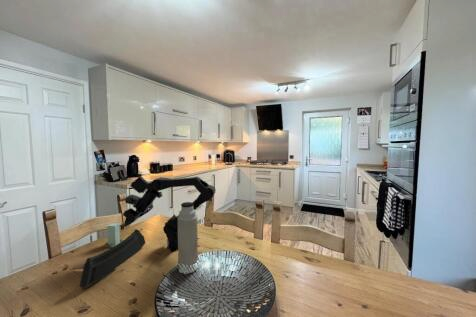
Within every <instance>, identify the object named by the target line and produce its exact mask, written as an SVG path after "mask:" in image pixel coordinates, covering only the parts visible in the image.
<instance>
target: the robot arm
mask: <svg viewBox="0 0 476 317" xmlns="http://www.w3.org/2000/svg"><path fill="white" fill-rule="evenodd" d="M129 185H130V186H129V187H130V188H132V189H133V190H134V191H136V192H137V193H138V194H142V196H141V197H140V196H139V195H135V194H130V195H127V196H126V197H125V199H124V203H126V204H127V205H132V207H133V208H128V209H126V210H124V212H122V216H123V217H125V219H124V223H123V227H124V228H127V227H129V226H130V225H132V224H133V223H135V222H136V221H138V219H140V218H141V217H143V216H144V215H146V214H148V213H149V212H150V211H151V210H152V209H154V201H155V200H156V198H157V199H161V198H162V197H163V194H162V193H163V192H162V191H163V190H166V189H170V188H178V187H188V186H189V187H190V186H193V187H194V188H195V189H196V191H198V193H199V195H198V196H197V197H196V198H195V199H194V200H193V201H192V203H193V207H194V210H195V211H196V210H197V209H198V208H200V206H201V205H203V204H204V203H206V202H208V201H210V200H211V199H212V198H213V197H214V196H215V194H216V191H217V190H216V187H215V186H214V185H211V184H209V183H208V182H207V181H204V180H203V179H201V178H200V177H199V176H194V177H193V176H191V177H180V178H169V177H162V176H161V177H158V178H156V179H153V180H152V181H149V182H148V181H147V180H146V179H145V178H144V177H142V176H141V175H140V176H138V177H136V179H134V181H132V182H131V184H129ZM134 208H135V209H134ZM178 216H179V214H178V215H175V214H174V215H173V216H171V217H170V218H168V220H167V221H165V223H164V226H163V227H162V228H163V232H164V234H165V236H166V243H167V244H166V246H167V248H168V250H170V252H174V251H175V252H176V251H178Z"/></svg>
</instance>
